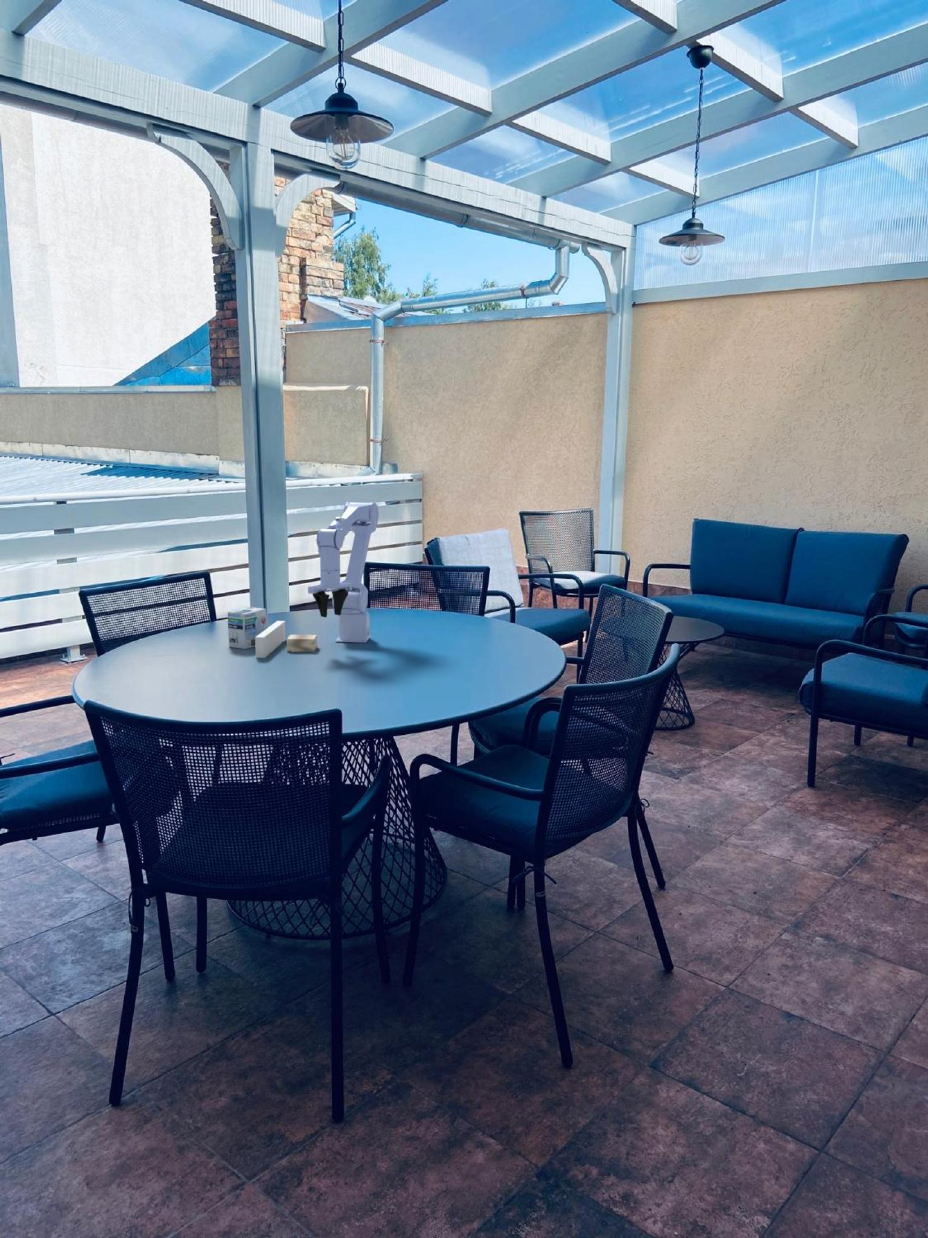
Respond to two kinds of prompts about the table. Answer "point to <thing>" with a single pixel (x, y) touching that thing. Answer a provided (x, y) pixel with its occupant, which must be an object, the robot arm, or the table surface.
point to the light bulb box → (245, 626)
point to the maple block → (302, 643)
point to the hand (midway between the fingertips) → (330, 615)
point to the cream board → (270, 639)
